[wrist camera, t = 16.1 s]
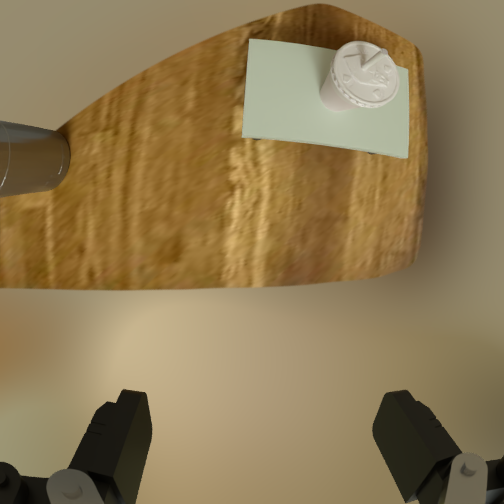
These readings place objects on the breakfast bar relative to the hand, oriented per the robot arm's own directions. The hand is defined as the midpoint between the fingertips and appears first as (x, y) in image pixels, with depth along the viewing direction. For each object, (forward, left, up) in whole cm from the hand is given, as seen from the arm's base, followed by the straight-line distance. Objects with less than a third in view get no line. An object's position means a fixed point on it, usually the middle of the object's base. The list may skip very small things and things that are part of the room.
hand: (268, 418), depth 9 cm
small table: (+9, +18, -33) cm, 39 cm away
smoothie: (+9, +18, -26) cm, 33 cm away
